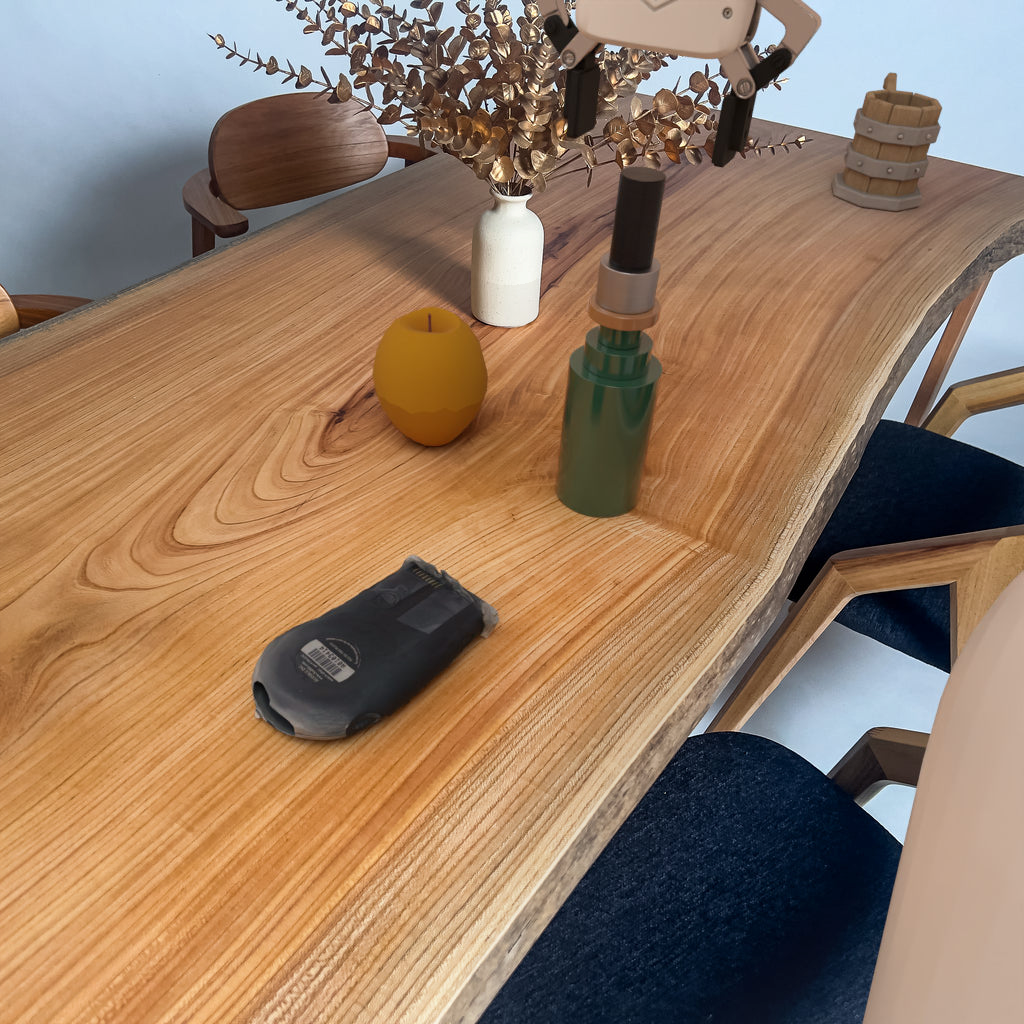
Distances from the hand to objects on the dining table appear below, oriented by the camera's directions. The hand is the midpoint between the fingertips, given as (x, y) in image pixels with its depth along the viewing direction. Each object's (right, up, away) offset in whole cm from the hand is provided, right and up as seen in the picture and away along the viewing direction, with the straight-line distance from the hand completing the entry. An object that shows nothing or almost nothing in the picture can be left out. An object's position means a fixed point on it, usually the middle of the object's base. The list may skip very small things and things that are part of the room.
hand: (650, 147), depth 58 cm
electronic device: (-18, -33, +1) cm, 38 cm away
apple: (-16, -16, +23) cm, 32 cm away
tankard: (+47, +27, +84) cm, 100 cm away
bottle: (-2, -21, +18) cm, 28 cm away
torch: (-1, -8, +7) cm, 11 cm away
